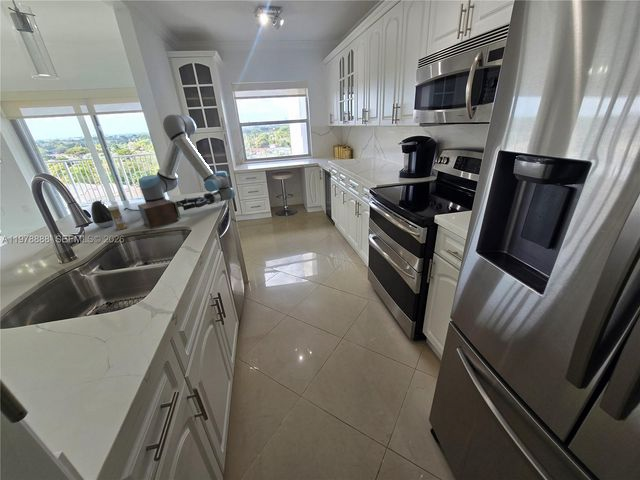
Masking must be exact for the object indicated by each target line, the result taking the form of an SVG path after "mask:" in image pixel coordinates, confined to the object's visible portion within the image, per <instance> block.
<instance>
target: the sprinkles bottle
mask: <svg viewBox="0 0 640 480" xmlns="http://www.w3.org/2000/svg"><path fill="white" fill-rule="evenodd" d="M107 206H108V205H107ZM108 210H109V211H110V213H111V216H112V219H113V221H114V225H115V228H116V230H117V231H120V230H124V229H126V228H127V226H126V223H125V221H124V218H123V216H122V213H121V211H120V207H119V206H118V204H112V205H109V206H108Z"/></svg>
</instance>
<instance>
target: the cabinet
mask: <svg viewBox="0 0 640 480" xmlns="http://www.w3.org/2000/svg"><path fill="white" fill-rule="evenodd" d="M168 200H169V199H167V198H166V199H163V200H158V201H154V202H149V203H146V202H145V203H140V204H137V207H138V208H137V209H138V210H140V211H139V213H140V215H141V219H142V221H143V223H144V225H145V226H147V227H148V228H149V229H155V228H159V227H162V226H166V225H169V224H172V223H176V222H179V219H178V218H177V215H176V212H175V209H174V206H173V202H171V201H172V200H171V201H168Z"/></svg>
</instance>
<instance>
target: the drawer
mask: <svg viewBox="0 0 640 480" xmlns="http://www.w3.org/2000/svg"><path fill="white" fill-rule="evenodd" d="M167 200H168V201H171V202H173V206H174V209H175V212H176V215H177V219H178V220H180V219H182V215H181V212H180V210H179V208H180V207H181V208H183V206H184V205H185V204H181V203H179V202H178V203H176V202H177V201H174V200H171V199H167ZM177 205H179V206H177Z"/></svg>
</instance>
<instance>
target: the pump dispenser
mask: <svg viewBox="0 0 640 480" xmlns="http://www.w3.org/2000/svg"><path fill="white" fill-rule="evenodd" d="M90 209H91V211H90V212H91V218H92V221H93V223H94V224H95V225H96V226H98V227H99V228H108V227H111V226H114V225H115V223H114V221H113V219H112V216H111V213H110V211H109V210H108V205H107V204H106V203H105V202H104V201H103V200H102V199H100V200H95V201H93V202H92V203H91V208H90Z"/></svg>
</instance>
